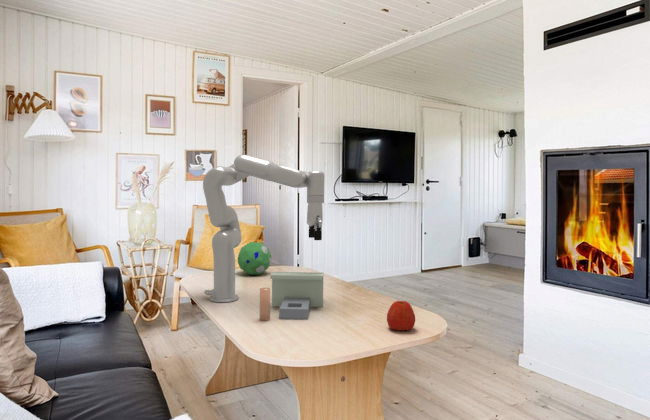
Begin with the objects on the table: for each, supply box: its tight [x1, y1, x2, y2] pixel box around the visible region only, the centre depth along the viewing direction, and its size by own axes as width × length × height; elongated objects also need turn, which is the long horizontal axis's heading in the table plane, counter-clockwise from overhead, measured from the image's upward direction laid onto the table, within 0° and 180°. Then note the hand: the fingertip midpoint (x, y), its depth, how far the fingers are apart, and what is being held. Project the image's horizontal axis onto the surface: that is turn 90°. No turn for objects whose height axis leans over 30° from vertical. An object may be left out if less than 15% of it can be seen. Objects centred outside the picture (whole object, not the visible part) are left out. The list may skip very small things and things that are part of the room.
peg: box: [259, 287, 271, 322], centre depth 169 cm, size 4×4×12 cm
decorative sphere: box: [237, 241, 272, 276], centre depth 255 cm, size 19×20×20 cm
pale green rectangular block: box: [269, 271, 324, 308], centre depth 186 cm, size 22×7×14 cm, turn 89°
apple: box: [386, 300, 416, 332], centre depth 159 cm, size 10×10×10 cm
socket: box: [278, 297, 311, 320], centre depth 178 cm, size 11×18×4 cm, turn 179°
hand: (314, 238), depth 191 cm, fingers open, 9 cm apart
